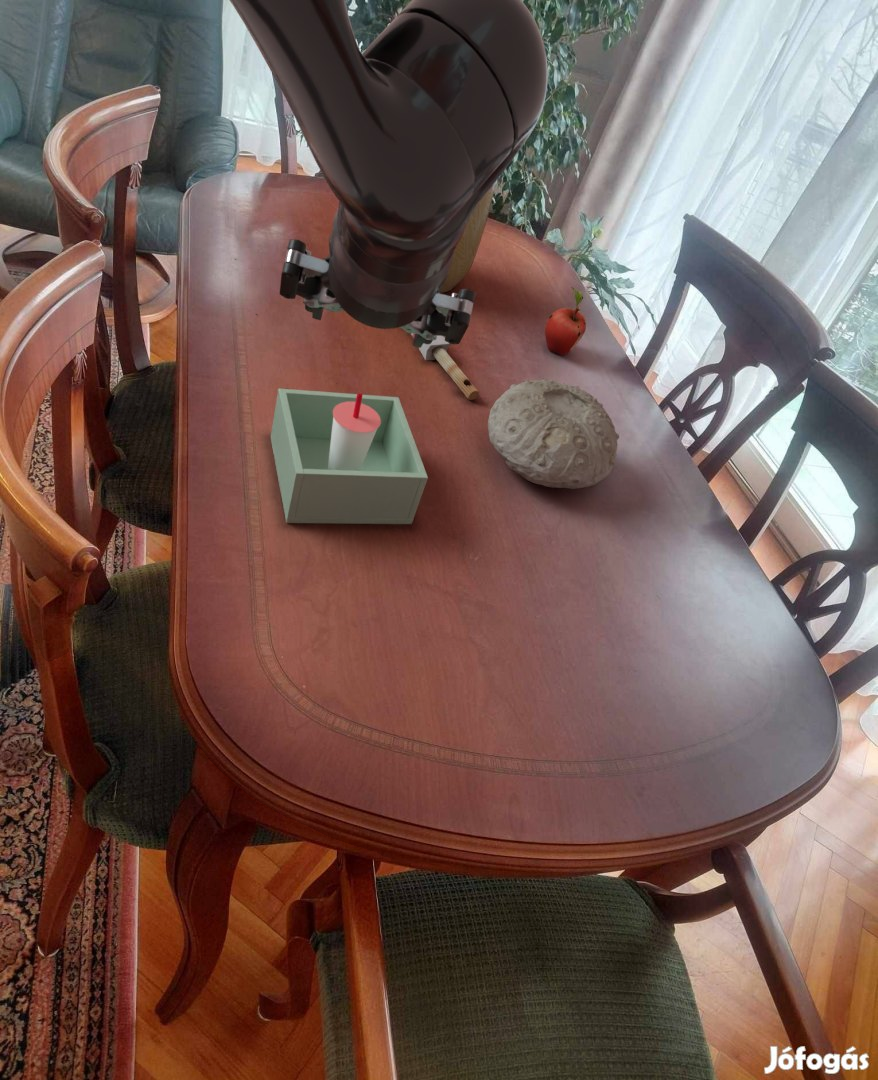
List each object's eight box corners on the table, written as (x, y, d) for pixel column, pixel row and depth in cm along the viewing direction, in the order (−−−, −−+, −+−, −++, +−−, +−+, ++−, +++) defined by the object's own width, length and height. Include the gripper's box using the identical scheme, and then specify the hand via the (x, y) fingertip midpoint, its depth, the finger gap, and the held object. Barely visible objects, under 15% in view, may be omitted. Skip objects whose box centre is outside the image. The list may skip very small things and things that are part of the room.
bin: (286, 523, 85) (296, 473, 80) (270, 437, 95) (278, 388, 90) (411, 524, 91) (428, 477, 86) (385, 443, 100) (398, 396, 95)
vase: (349, 256, 133) (384, 86, 115) (416, 242, 145) (458, 86, 127) (420, 308, 128) (469, 137, 110) (484, 289, 139) (538, 132, 121)
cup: (310, 467, 92) (328, 383, 83) (347, 456, 95) (368, 375, 87) (335, 496, 89) (356, 414, 81) (372, 484, 93) (396, 404, 84)
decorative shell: (610, 518, 102) (645, 460, 95) (481, 491, 99) (507, 429, 92) (589, 435, 115) (618, 379, 108) (474, 409, 111) (497, 349, 105)
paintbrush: (421, 305, 122) (487, 387, 112) (416, 320, 124) (480, 402, 114) (400, 306, 120) (465, 389, 110) (395, 321, 122) (459, 404, 112)
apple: (583, 361, 130) (608, 308, 124) (551, 363, 127) (575, 308, 120) (558, 335, 135) (581, 282, 128) (527, 336, 131) (549, 282, 125)
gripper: (509, 228, 51) (460, 302, 67) (292, 160, 48) (295, 254, 64) (484, 339, 50) (441, 387, 66) (264, 277, 48) (274, 342, 64)
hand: (369, 321), depth 65 cm, fingers open, 8 cm apart
